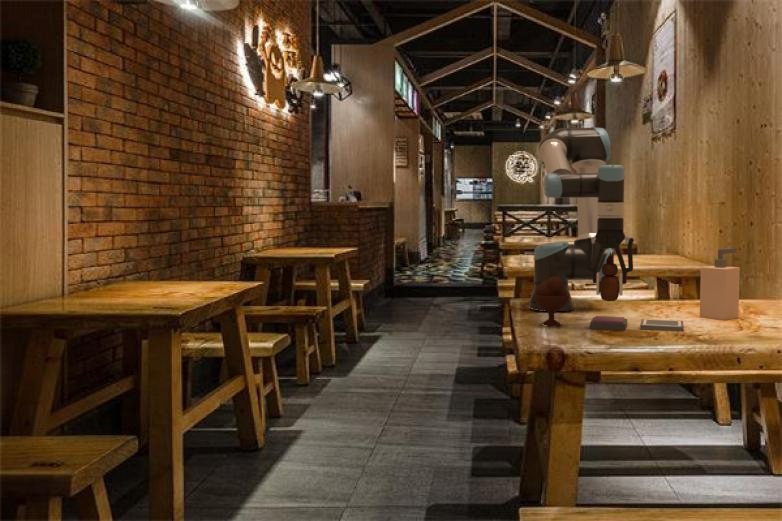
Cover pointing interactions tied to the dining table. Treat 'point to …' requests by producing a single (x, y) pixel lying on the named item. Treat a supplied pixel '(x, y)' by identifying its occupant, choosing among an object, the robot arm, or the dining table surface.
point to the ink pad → (608, 323)
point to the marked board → (662, 325)
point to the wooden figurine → (609, 280)
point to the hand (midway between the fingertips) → (609, 294)
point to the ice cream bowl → (551, 298)
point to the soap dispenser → (720, 289)
